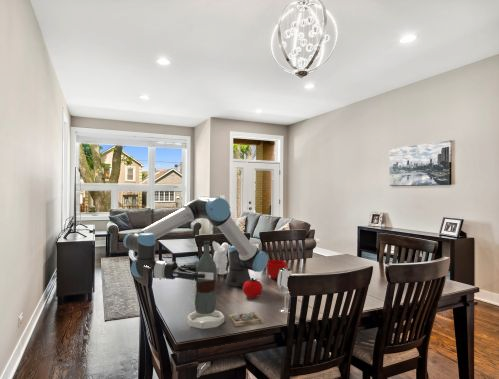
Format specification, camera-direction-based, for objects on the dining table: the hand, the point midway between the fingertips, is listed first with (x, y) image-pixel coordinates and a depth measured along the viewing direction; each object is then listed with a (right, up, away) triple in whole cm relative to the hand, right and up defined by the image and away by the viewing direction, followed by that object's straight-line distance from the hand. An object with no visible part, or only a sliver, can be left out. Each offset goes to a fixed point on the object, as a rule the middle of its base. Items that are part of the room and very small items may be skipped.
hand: (216, 273), depth 144 cm
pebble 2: (+12, -21, +1) cm, 24 cm away
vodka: (-5, -17, +1) cm, 17 cm away
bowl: (-5, -21, +1) cm, 22 cm away
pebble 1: (+9, -21, +2) cm, 23 cm away
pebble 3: (+14, -21, +4) cm, 26 cm away
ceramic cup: (+33, -21, +72) cm, 82 cm away
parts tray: (+12, -22, +2) cm, 25 cm away
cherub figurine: (-5, -21, +80) cm, 83 cm away
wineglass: (+31, -22, +15) cm, 41 cm away
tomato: (+16, -22, +35) cm, 44 cm away
